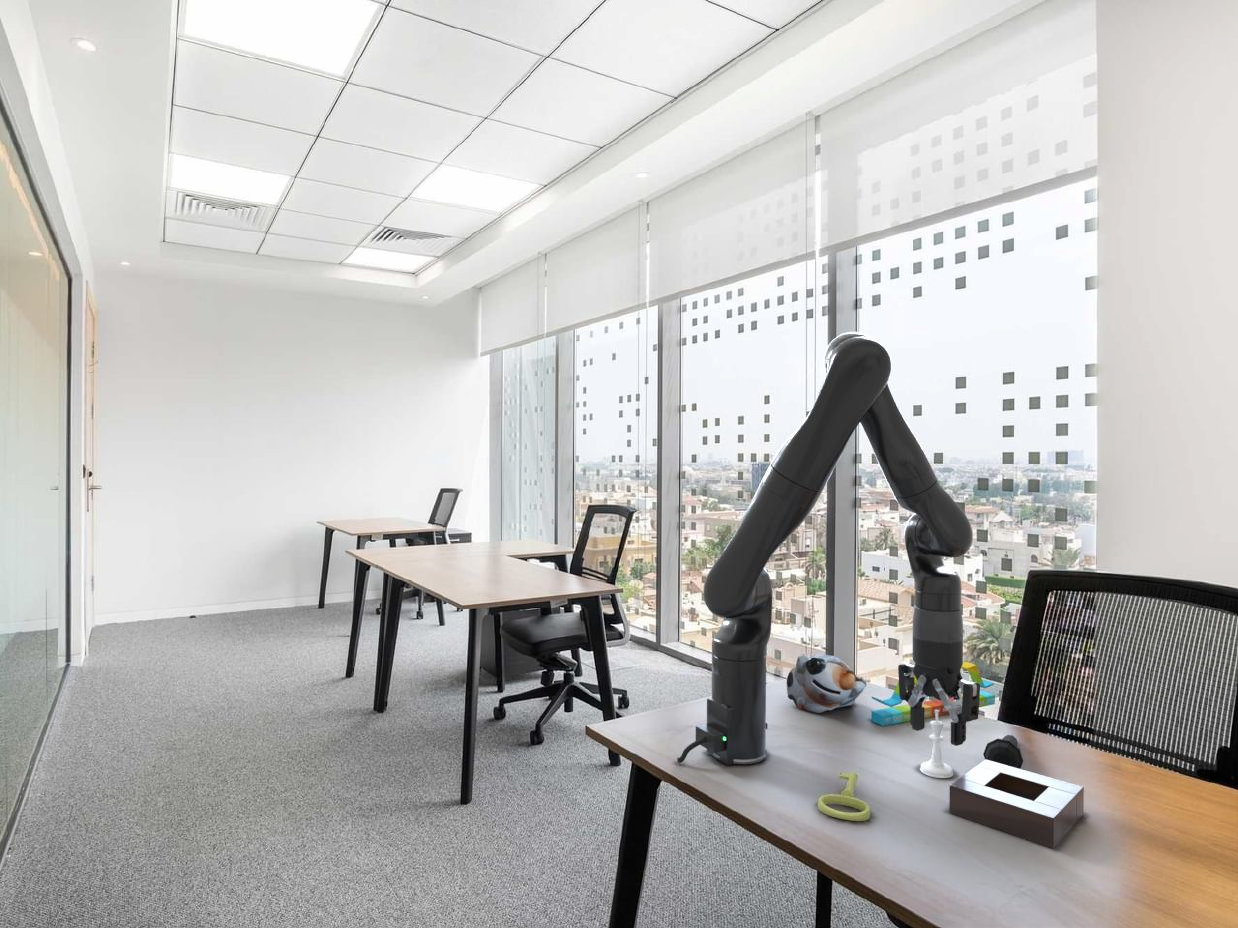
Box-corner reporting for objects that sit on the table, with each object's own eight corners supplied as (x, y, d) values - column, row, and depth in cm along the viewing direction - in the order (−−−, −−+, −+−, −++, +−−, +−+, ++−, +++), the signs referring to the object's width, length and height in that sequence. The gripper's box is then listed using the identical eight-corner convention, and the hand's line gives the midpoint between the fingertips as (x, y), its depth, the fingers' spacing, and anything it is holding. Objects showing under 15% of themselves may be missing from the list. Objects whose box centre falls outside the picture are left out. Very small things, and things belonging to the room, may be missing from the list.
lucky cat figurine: (860, 699, 157) (877, 649, 150) (848, 738, 147) (865, 688, 140) (791, 670, 162) (805, 622, 155) (775, 707, 153) (788, 657, 146)
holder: (1053, 848, 97) (1053, 818, 97) (949, 812, 107) (949, 785, 107) (1083, 814, 106) (1083, 786, 106) (985, 784, 116) (985, 758, 116)
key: (857, 784, 116) (857, 770, 116) (873, 823, 104) (873, 807, 104) (809, 781, 117) (809, 768, 117) (820, 819, 105) (820, 804, 105)
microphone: (1001, 755, 135) (988, 781, 118) (991, 722, 136) (977, 743, 120) (1034, 752, 132) (1026, 778, 116) (1023, 718, 134) (1014, 739, 117)
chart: (883, 726, 141) (883, 647, 141) (871, 720, 144) (871, 643, 144) (996, 704, 154) (996, 632, 154) (982, 700, 157) (983, 629, 157)
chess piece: (920, 775, 119) (920, 713, 119) (920, 763, 124) (920, 704, 124) (953, 780, 118) (954, 717, 118) (952, 768, 122) (952, 707, 122)
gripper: (992, 641, 116) (992, 747, 116) (916, 623, 129) (916, 719, 129) (961, 647, 112) (960, 756, 113) (886, 628, 125) (885, 726, 125)
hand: (937, 736), depth 121 cm, fingers open, 7 cm apart
